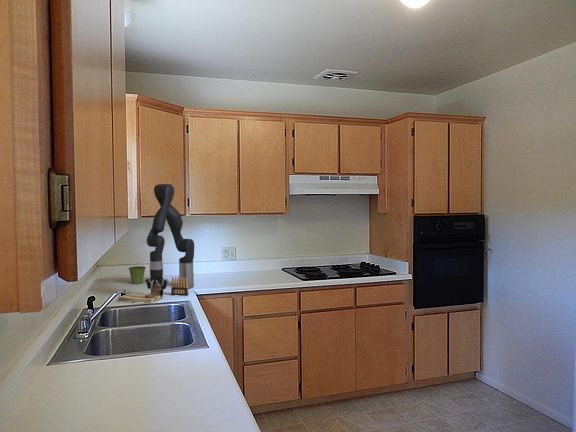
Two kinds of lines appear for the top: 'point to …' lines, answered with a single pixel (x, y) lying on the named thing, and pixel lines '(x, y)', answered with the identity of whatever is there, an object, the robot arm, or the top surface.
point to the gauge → (154, 292)
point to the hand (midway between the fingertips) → (157, 295)
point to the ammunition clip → (179, 287)
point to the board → (138, 298)
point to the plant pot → (137, 274)
